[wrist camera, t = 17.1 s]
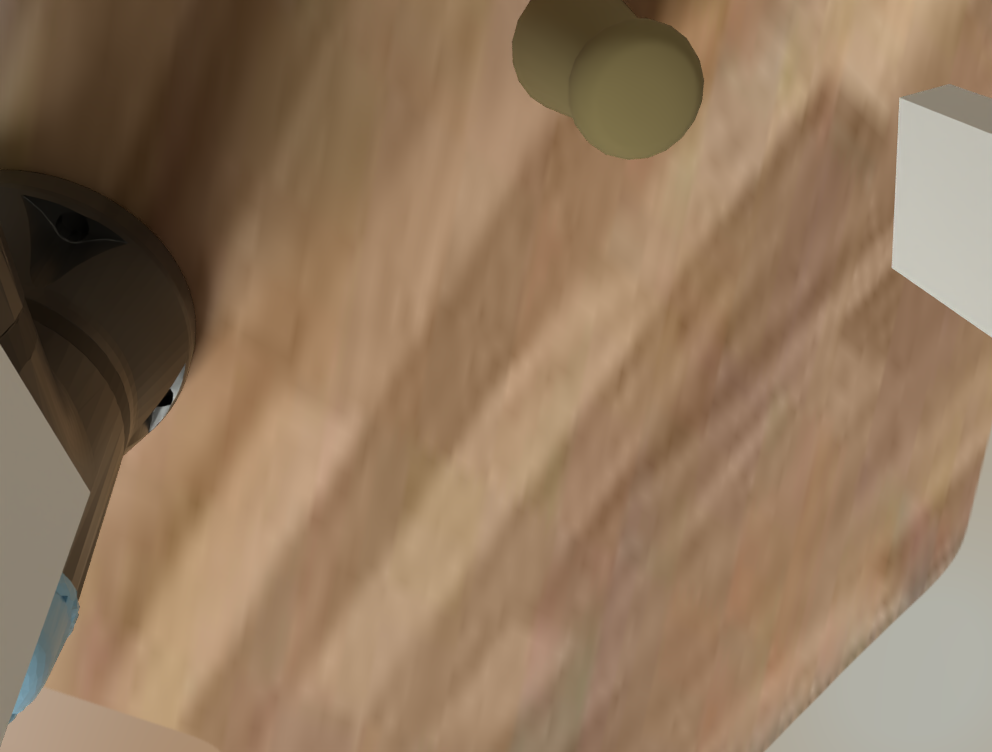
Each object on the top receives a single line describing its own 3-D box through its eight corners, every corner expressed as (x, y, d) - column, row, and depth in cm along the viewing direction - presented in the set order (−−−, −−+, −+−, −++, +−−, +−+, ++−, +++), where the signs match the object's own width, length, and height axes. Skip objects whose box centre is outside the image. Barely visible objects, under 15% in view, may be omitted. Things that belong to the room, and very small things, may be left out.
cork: (523, 124, 43) (582, 197, 33) (501, -6, 39) (559, 35, 30) (640, 95, 43) (730, 160, 34) (627, -35, 40) (724, -5, 30)
